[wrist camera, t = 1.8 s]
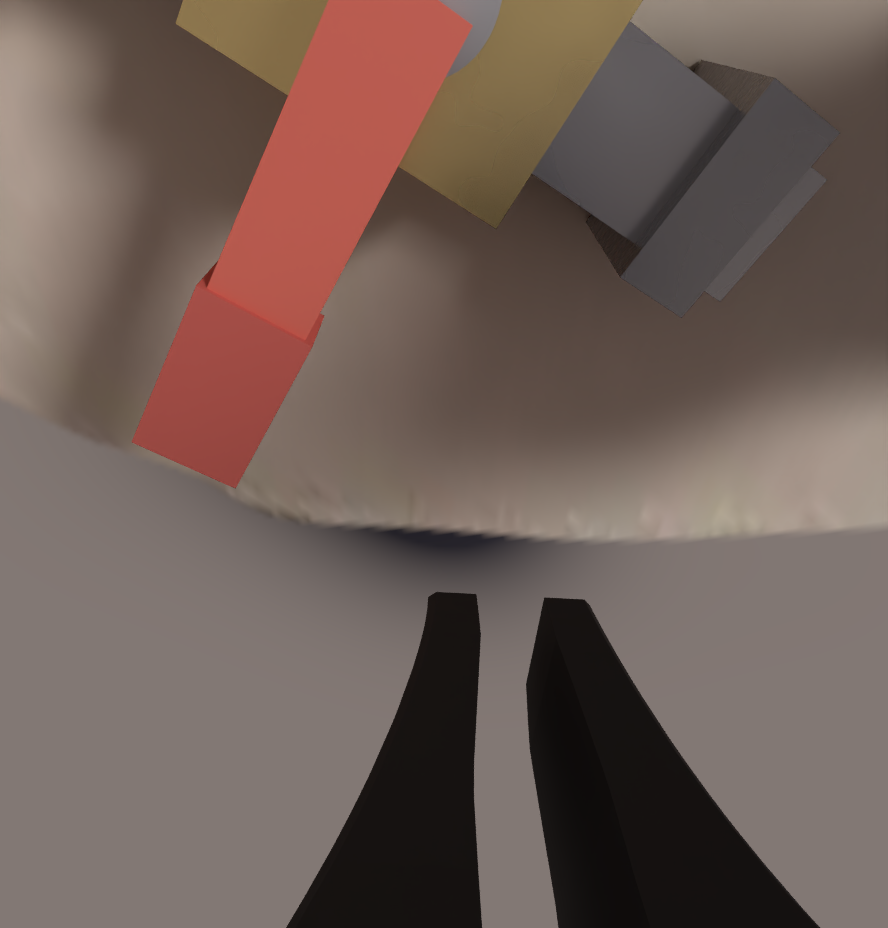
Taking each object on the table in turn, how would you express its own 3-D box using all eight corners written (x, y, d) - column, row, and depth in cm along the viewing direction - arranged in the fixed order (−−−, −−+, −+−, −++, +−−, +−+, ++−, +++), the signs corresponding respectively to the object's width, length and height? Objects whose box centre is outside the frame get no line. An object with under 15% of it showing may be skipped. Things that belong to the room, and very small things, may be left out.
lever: (387, -165, 9) (377, -190, 8) (532, -49, 10) (544, -56, 9) (152, 400, 14) (123, 438, 13) (259, 450, 15) (242, 491, 14)
